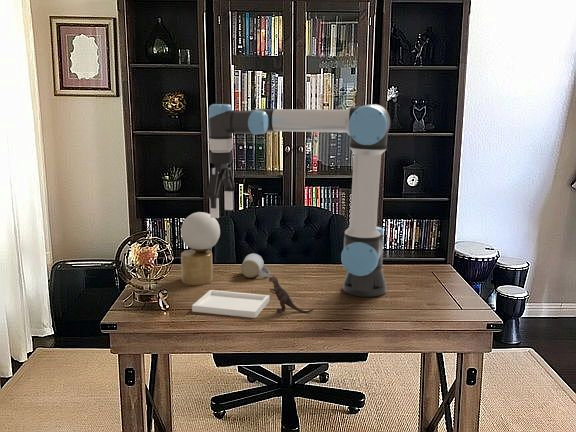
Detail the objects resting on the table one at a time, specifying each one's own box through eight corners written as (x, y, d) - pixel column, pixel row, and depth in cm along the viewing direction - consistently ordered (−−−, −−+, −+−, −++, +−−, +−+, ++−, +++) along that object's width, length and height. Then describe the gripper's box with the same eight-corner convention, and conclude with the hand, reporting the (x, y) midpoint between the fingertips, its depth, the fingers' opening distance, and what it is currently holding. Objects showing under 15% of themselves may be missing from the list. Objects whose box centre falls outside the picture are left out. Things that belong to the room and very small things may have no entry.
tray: (269, 301, 212) (269, 295, 212) (255, 318, 197) (255, 311, 197) (210, 295, 217) (210, 289, 217) (192, 311, 202) (191, 305, 202)
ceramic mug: (240, 278, 236) (240, 258, 235) (244, 271, 244) (244, 252, 243) (268, 280, 235) (268, 260, 233) (271, 273, 243) (272, 254, 241)
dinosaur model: (268, 274, 202) (316, 277, 201) (266, 308, 205) (313, 312, 204) (268, 278, 198) (316, 282, 198) (265, 313, 201) (313, 317, 201)
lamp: (198, 271, 245) (197, 207, 240) (228, 277, 238) (227, 211, 232) (172, 281, 232) (170, 214, 227) (202, 288, 225) (201, 218, 220)
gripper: (223, 147, 225) (224, 206, 229) (195, 154, 201) (197, 220, 206) (243, 147, 223) (244, 207, 228) (217, 155, 200) (219, 221, 204)
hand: (221, 213), depth 217 cm, fingers open, 13 cm apart
